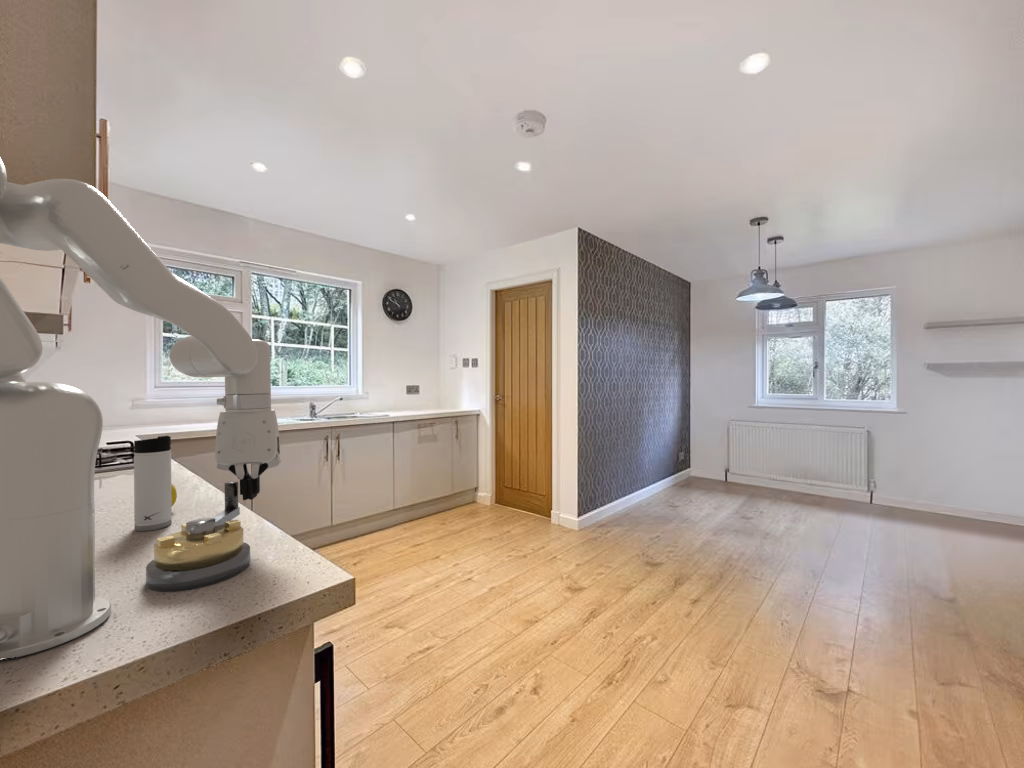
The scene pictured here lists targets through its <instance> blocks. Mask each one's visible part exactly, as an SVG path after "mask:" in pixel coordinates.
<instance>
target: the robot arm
mask: <svg viewBox="0 0 1024 768" xmlns="http://www.w3.org/2000/svg"><path fill="white" fill-rule="evenodd" d="M7 177H8V175H7V170H6V166H5V165H4V162H3V160H2V158H1V157H0V244H3V245H8V246H13V247H17V248H23V249H27V250H28V249H29V250H35V251H43V252H45V251H47V252H51V251H59V250H61V251H62V252H63V253H64V254H65V255H66V256H67V257H68V258H69V259H70V260H72V262H73V263H74V264H76V265H77V266H78V267H79V268H80V269H81V270H82V271H83V272H84V273H85V274H86V275H87V276H88V277H89V278H90V279H91V280H93V282H94V283H95V284H97V286H98V287H100V288H101V290H102V291H104V293H106V294H107V295H108V297H110V298H111V300H113V301H114V302H115V303H116V304H118V305H121V306H122V307H124V308H127V309H129V310H132V311H134V312H137V313H140V314H144V315H147V316H149V317H153V318H156V319H159V320H162V321H164V322H167V323H169V324H170V325H171V324H172V325H173V326H175V327H177V328H178V329H181V330H182V331H184V332H186V333H187V334H188V336H186V337H183V338H180V339H179V340H177V341H176V342H174V344H173V345H172V346H171V348H170V350H169V361H170V364H171V365H172V366H173V367H174V369H176V371H178V372H179V373H181V374H183V375H185V376H188V377H192V378H224V394H223V396H222V397H217V398H216V404H217V406H223V408H224V411H219V416H218V418H217V419H218V420H217V425H216V434H215V444H214V446H215V447H214V458H215V462H216V463H217V465H216V469H218V470H222V471H229V472H231V473H232V474H233V475H234V476H236V478H237V479H238V480H239V494H240V496H242V501H247V500H249V501H250V500H251V501H252V500H254V499H255V498H257V496H258V495H259V494H260V491H261V487H260V486H261V481H260V480H261V478H260V477H261V476H262V474H263V473H264V472H265V471H267V470H268V469H272V468H274V467H278V466H280V465H282V464H281V463H282V460H281V456H280V454H281V453H280V452H281V443H280V442H281V439H280V438H281V437H280V432H279V431H280V430H279V425H278V424H279V423H278V417H277V415H276V414H277V413H276V411H275V409H272V394H271V393H272V391H271V387H272V386H271V385H272V382H271V381H272V380H271V379H272V378H271V375H272V373H271V347H270V344H269V342H267V341H265V340H262V339H253V338H252V336H251V335H250V334H249V332H248V331H247V330H246V328H244V326H243V325H242V324H241V323H240V321H239V320H238V319H237V318H236V316H235V315H234V314H233V313H232V312H231V311H229V309H227V308H226V307H225V306H224V305H222V303H220V302H219V301H218V300H216V299H214V298H212V296H209V295H208V294H206V293H205V292H204V291H202V290H200V289H199V288H197V287H196V286H194V285H193V284H191V283H189V282H188V281H186V280H184V279H183V278H181V277H179V276H177V275H176V274H175V273H173V272H172V270H170V269H169V267H168V266H166V265H165V264H164V262H163V261H162V260H161V259H160V257H159V256H158V255H157V254H156V253H155V252H154V251H153V249H152V248H151V247H150V246H149V244H147V243H146V241H145V240H144V239H143V238H142V236H140V235H139V234H138V232H137V231H136V230H135V228H133V226H131V224H130V223H129V222H128V220H127V219H126V218H125V217H124V216H123V214H121V212H120V211H119V209H118V210H117V208H116V207H115V206H114V205H113V203H111V201H110V200H109V199H108V198H107V197H106V196H105V195H104V194H103V193H102V192H101V191H99V190H98V189H97V188H95V187H94V186H92V185H90V183H86V182H85V181H84V182H83V181H81V180H77V179H72V178H54V179H53V178H52V179H46V180H45V179H44V180H39V181H35V182H31V183H27V184H18V183H13V182H10V181H8V178H7ZM189 335H190V336H189ZM42 353H43V343H42V339H41V337H40V335H39V332H38V331H37V329H36V328H35V326H34V325H33V323H32V322H31V320H30V318H29V317H28V316H27V314H26V313H25V311H24V310H23V309H22V307H21V305H20V304H19V302H18V300H16V298H15V297H14V294H13V293H12V292H11V291H10V289H9V287H8V286H7V284H6V283H5V281H4V280H3V279H2V277H1V276H0V659H1V658H11V659H16V658H21V657H25V656H28V655H31V654H32V655H33V654H37V653H40V652H42V651H45V650H48V649H52V648H53V647H58V646H59V645H63V644H65V643H67V642H70V641H72V640H74V639H76V638H79V637H81V636H83V635H85V634H86V633H88V632H91V631H92V630H94V629H96V628H97V627H99V625H102V623H104V622H105V621H106V620H107V618H109V616H110V615H111V613H112V603H111V601H109V600H108V599H106V598H102V597H96V555H95V554H96V548H95V547H96V546H95V545H96V542H95V541H96V535H95V533H96V532H95V529H96V526H95V522H96V521H95V518H96V517H95V474H96V473H95V472H96V471H95V470H96V461H97V455H98V451H99V446H100V443H101V438H102V433H103V427H104V426H103V423H104V421H103V414H102V412H101V411H102V410H101V408H100V407H99V405H98V404H97V402H96V401H95V400H94V398H93V397H92V396H90V395H89V394H88V393H86V392H85V391H84V390H81V389H79V388H77V387H75V386H71V385H68V384H65V383H64V384H63V383H59V382H51V381H50V382H49V381H26V380H25V378H24V377H23V376H22V374H23V373H25V372H27V371H29V370H31V369H32V368H33V367H34V366H36V365H37V364H38V363H39V361H40V359H41V357H42ZM248 464H249V465H250V464H252V465H251V466H252V467H251V472H250V473H251V474H250V473H249V467H248ZM15 657H16V658H15Z"/></svg>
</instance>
